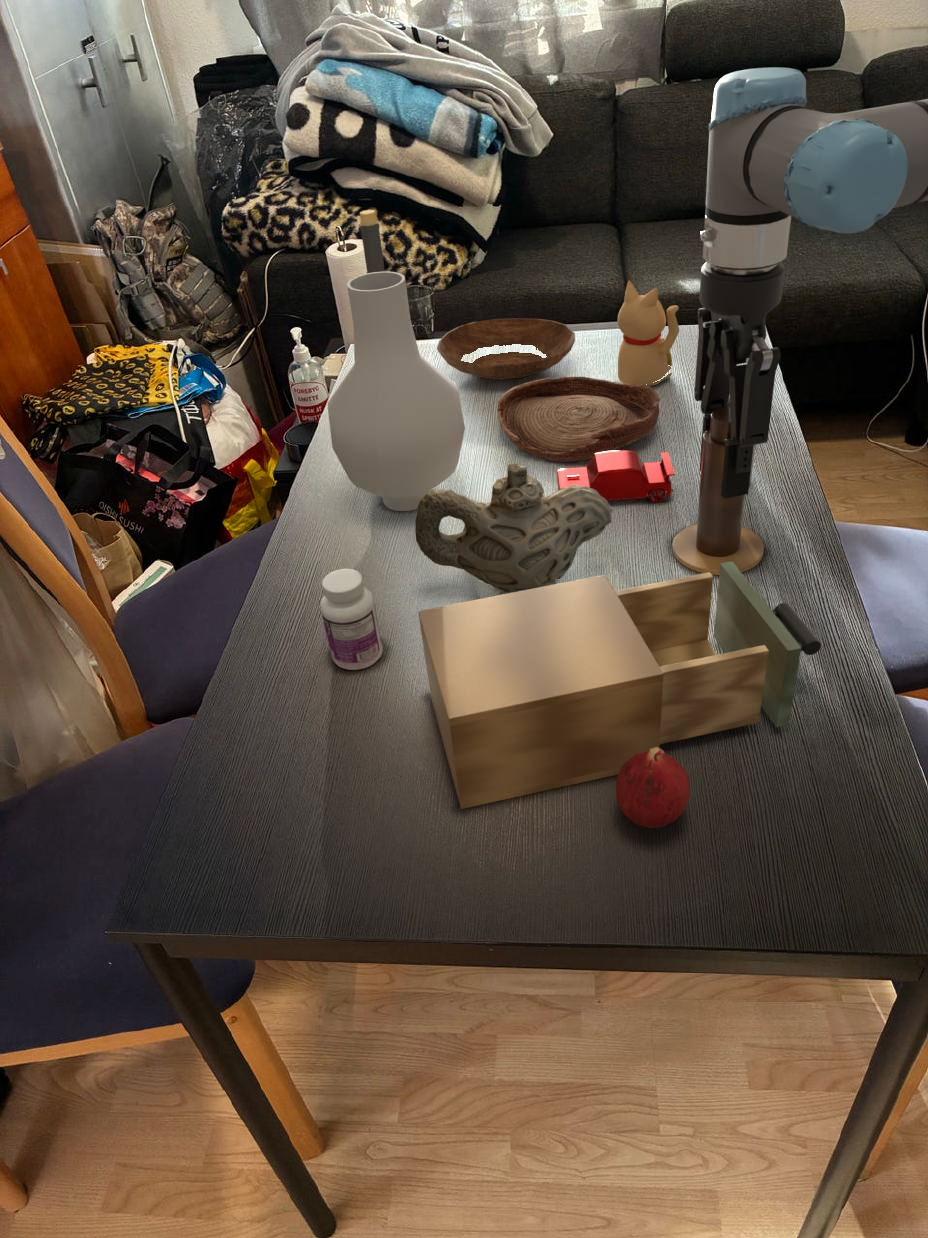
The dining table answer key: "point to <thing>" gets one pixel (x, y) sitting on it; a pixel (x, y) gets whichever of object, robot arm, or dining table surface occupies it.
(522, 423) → the basket
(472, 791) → the cabinet
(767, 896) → the dining table surface
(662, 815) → the red pomegranate
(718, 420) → the pepper mill
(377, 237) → the wine bottle
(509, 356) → the bowl
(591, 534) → the teapot
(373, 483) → the vase
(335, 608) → the pill bottle
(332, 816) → the dining table surface
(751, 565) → the coaster
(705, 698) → the drawer
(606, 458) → the toy car
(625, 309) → the figurine
